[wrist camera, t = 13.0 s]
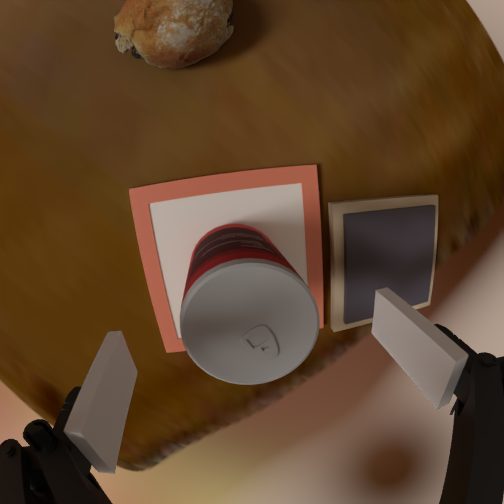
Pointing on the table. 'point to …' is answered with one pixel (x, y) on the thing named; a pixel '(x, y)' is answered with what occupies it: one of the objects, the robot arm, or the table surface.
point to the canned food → (245, 308)
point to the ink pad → (380, 254)
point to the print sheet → (221, 213)
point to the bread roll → (173, 30)
